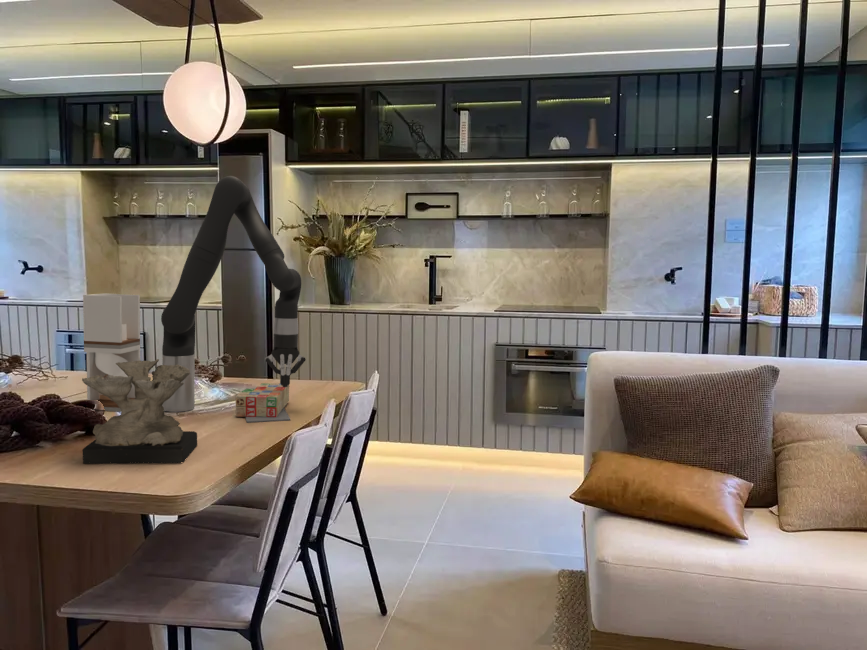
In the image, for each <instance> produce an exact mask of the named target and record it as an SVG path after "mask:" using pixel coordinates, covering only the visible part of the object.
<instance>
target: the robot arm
mask: <svg viewBox="0 0 867 650" xmlns="http://www.w3.org/2000/svg"><path fill="white" fill-rule="evenodd" d="M233 216H236V218H237V219H238V221H240V223H241V224H242V226H243V227H244V230H245V231H246V234H247V237H248V238H249V240H250V241H249V242H250V244H251V245H252V247H253V249H254V250H255V252H256V254H257V256H258V257H259V259H260V260H261V262H262V263H263V265H264V268H265V272H266V274H267V276H268V278H269V280H270V282H271V284H272V285H273V287H274V288H275V289H276V290H278V291H279V294H278V295H279V296H278V299H277V300H276V301H275V304H274V321H273V336H272V337H273V339H272V340H273V342H272V343H273V344H272V345H273V346H272V347H273V348H272V350H271V354H270V355H268V356H265V357H264V361H265V362H266V363H267V364H268V366H269V368H271V369H272V370H273V372H274V374H278V375H279V377H280V379H279V383H280V384H281V385H282V386H283V387H288V385H289V386H290V384H291V375H293V374H296V373H297V371H299V369H300V368H301V366H302V365H303V364H304V363H305V362H306V357H304V356H303V355H301V354H300V351H299V332H300V331H299V321H298V320H299V319H298V317H299V315H298V313H299V312H298V311H299V308H298V305H299V300H300V295H301V290H302V277H301V275H300V273H299V272H298V270H296V269H293V268H289V266H288V265H287V264H286V262H285V260H284V259H285V253H284V252H283V250H282V248H281V247H280V245H279V243H278V241H277V240H276V238H275V237H274V236H273V234H272V232H271V231H270V230H269V228H268V226H267V224H266V223H265V222H264V220H263V218H262V216H261V214H260V212H259V210H258V209H257V206H256V203H255V201H254V199H253V196H252V194H251V191H250V188H249V187H248V185H247V184H245V183H244V182H243V181H242V180H241V179H240V178H238V177H236V176H234V175H226V176H224V177H222V178H220V180H219V181H218V182H217V183H216V184H215V187H214V190H213V193H212V197H211V200H210V203H209V207H208V209H207V212H206V214H205V217H204V219H203V221H202V223H201V226H200V228H199V230H198V232H197V234H196V236H195V238H194V241H193V243H192V245H191V248H190V249H189V252H188V254H187V257H186V260H185V262H184V264H183V265H184V266H183V268H182V271H181V275H180V278H179V281H178V283H177V286H176V289H175V291H174V293H173V294H172V295H171V298H170V300H169V302H168V303H167V305H166V306H165V308H164V310H163V311H162V313H161V315H160V316H161V318H160V320H161V324H162V326H163V339H162V348H161V351H162V353H161V354H162V359H161V360H162V361H161V362H162V364H161V365H168V366H169V365H172V366H173V365H180V366H183V367H185V368H187V369H189V370H190V371H189V372H190V374H189V375H188V376H187V377H186V378H185V379H184V380H183V381H182V382H184V384H183V385H182V386H181V387H180V388H178V390H176V392H175V393H174V394H173V395H172V396H171V397H170V398H169V399H168V400H166V401H165V402H164V403H163V405H162V406H163V407H164V412H170V413H175V412H176V413H177V412H178V413H179V412H188V411H192V410H193V408H194V409H195V403H196V401H195V392H196V390H195V389H196V388H195V383H196V382H195V377H196V376H195V371H196V369H195V367H196V366H195V360H196V359H195V351H196V350H195V348H196V347H195V346H196V312H197V309H198V307H199V303H200V300H201V298H202V295H203V293H204V292H205V290H206V289H207V287H208V286H209V284H210V282H211V280H212V279H213V278H214V275H215V273H217V272H216V271H217V269H218V268H219V266H220V263H221V261H222V259H223V256H224V253H225V249H226V244H227V238H228V232H229V231H228V229H229V226H230V223H231V221H232V218H233ZM274 360H275V361H276V363H278V367H279V369H278V368H277V366H276V365H275V364H274V363H273V362H274ZM295 361H296V363H295V364H294V362H295ZM292 364H294V365H293V367H292ZM182 382H181V383H182ZM191 409H192V410H191Z"/></svg>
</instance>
